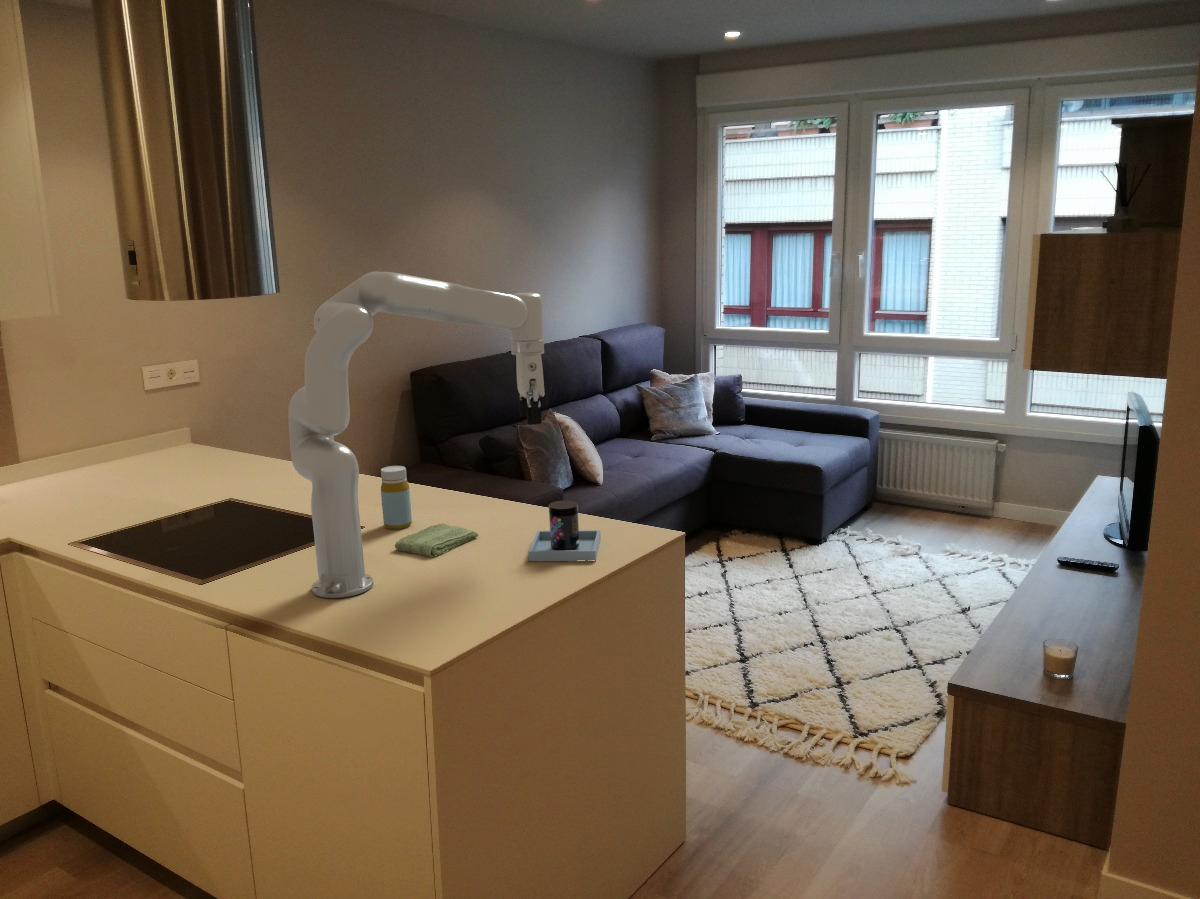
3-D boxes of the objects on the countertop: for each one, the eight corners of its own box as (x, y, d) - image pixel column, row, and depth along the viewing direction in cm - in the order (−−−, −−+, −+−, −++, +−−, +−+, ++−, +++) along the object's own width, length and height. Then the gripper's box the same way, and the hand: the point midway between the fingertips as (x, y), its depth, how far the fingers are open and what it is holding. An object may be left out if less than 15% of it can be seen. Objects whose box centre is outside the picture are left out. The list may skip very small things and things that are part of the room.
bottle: (405, 530, 247) (401, 472, 244) (379, 529, 249) (374, 472, 245) (416, 522, 254) (411, 465, 250) (390, 521, 255) (385, 465, 252)
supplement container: (552, 543, 232) (551, 500, 229) (581, 543, 231) (579, 500, 229) (548, 552, 225) (546, 509, 223) (577, 553, 224) (575, 509, 222)
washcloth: (481, 538, 240) (480, 526, 240) (433, 560, 226) (432, 547, 225) (440, 531, 247) (439, 519, 246) (390, 552, 233) (389, 539, 232)
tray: (595, 561, 220) (595, 551, 220) (529, 561, 222) (528, 551, 221) (600, 539, 235) (600, 530, 234) (538, 540, 236) (537, 530, 236)
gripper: (551, 350, 220) (553, 426, 224) (536, 342, 237) (539, 412, 240) (517, 352, 219) (521, 428, 222) (505, 344, 235) (508, 414, 239)
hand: (530, 420), depth 231 cm, fingers open, 9 cm apart
